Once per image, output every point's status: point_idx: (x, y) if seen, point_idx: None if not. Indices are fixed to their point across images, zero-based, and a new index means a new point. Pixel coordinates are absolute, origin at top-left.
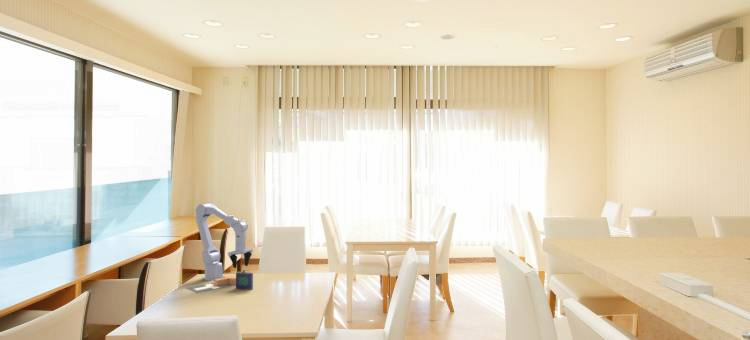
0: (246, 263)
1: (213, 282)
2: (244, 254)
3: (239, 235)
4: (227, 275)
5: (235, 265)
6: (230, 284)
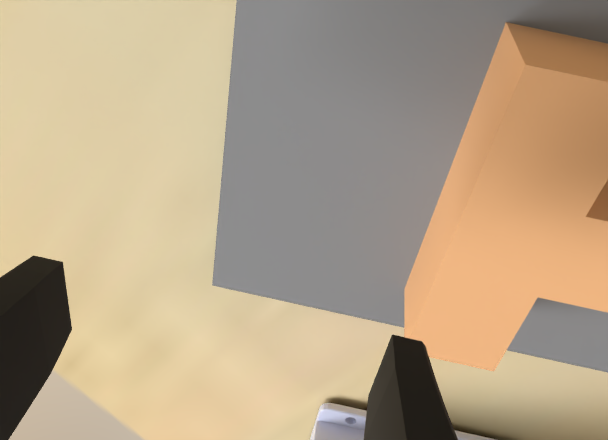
0: (24, 320)
1: (586, 364)
2: None
3: None
4: None
5: (432, 396)
6: None
